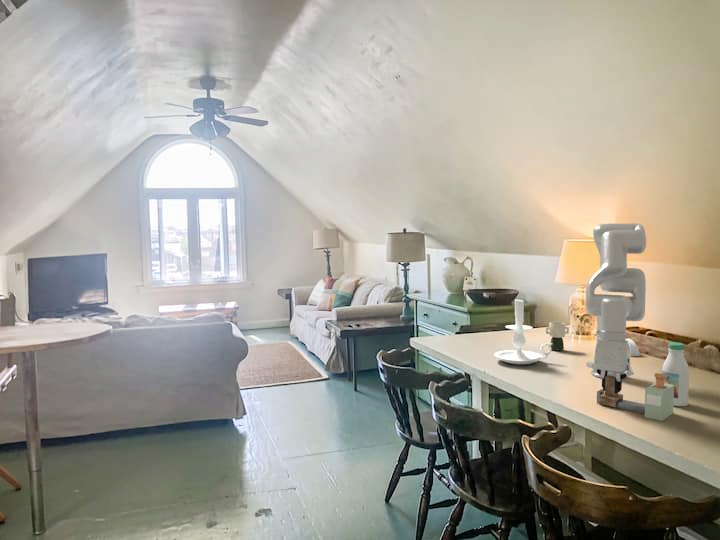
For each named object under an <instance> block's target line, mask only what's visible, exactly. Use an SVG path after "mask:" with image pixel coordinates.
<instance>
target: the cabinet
mask: <svg viewBox="0 0 720 540" xmlns="http://www.w3.org/2000/svg"><path fill="white" fill-rule="evenodd" d="M673 403H674V385H671V384H666V383H664V389H662V388H656V382H654V383H652V384H651V385H649V386H647V387H645V393H644V404H645V414H644V418H647V419H650V420H655V421H660V422H663V421H664V420H666V419H668V418H669V417H671V416H672V415H673V414H674V406H673Z"/></svg>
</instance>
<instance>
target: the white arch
mask: <svg viewBox="0 0 720 540" xmlns="http://www.w3.org/2000/svg"><path fill="white" fill-rule="evenodd" d="M626 341H628V346H629V353H630V358H631V357H634V358H635V357H640V356H641V354H640V353H641V352H640V349H639V347H638V345H637V343H635V341H634V340H633V339H631V338H627V337H626Z"/></svg>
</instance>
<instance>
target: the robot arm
mask: <svg viewBox="0 0 720 540" xmlns="http://www.w3.org/2000/svg"><path fill="white" fill-rule="evenodd" d="M592 232H593V233H592V235H593V236H592V237H593V240H594V244H595V246H596V249H597V251H598V253H599V258H600V259H599V269H598V270H597V271H595V273H593V275H592V276H591V277H590V279H589V280H588V283H587V285H586V289H585V311H586V313H587V314H588V315H589V316H591V317H596V331H595V334H596V344H595V349H594V359H593V362H592V361H587V362H586V365H585V366H586V367H587V368H590V369H592V370H591V375H592V376H595V377H597V378H600V379H601V387H602V389H603V391H604V392H605V377H606V376H609V375H610V376H616V381H615V390H614V392H615V393H618V394H620V392H621V391H622V389H623V382H622V381H623V380H624V379H627V377H630V376H632V375H634V374H635V373H634V371H633V369H632V366H631V357H630V347H629V345H628V341H626V339H627V337H626V336H627V322H640V321H642V320H643V319H644V318H645V316H646V315H645V314H646V289H647V288H646V286H647V285H646V283H647V282H646V275H645V272H644V270H642V269H640V268H635V267H628V261H627V260H628V254H631V255H632V254H633V255H636V254H637V255H640V254H643V253H644V252H645V250H646V249H647V235H646V229H645V227H644V225H643V224H641V223H601V224H597V225H596V226H594V228H593V231H592ZM598 286H600V289H601V290H602V291H604V292H606V293H622V294H602V293H601V294H600V293H599V294H598V293H595V292H596V288H597V287H598ZM625 293H627V294H628V293H629V294H631V296H629V295H623V294H625Z"/></svg>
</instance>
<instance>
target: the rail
mask: <svg viewBox="0 0 720 540" xmlns="http://www.w3.org/2000/svg"><path fill="white" fill-rule="evenodd" d="M603 393H605V391H603V388H602V389H599V390H597V391H596V404H598V405H600V404H599V403H600V395H601V394H603ZM601 405H603V404H601ZM603 406H604V405H603ZM610 407H612V406H610ZM615 409H621V410H625V411H629V412H634V413H637V414H638V413H639V414H644V415H645V403H642V402H637V401H632V400H626V399H623V400H622V399H619V400H618V401H616V407H615Z"/></svg>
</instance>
